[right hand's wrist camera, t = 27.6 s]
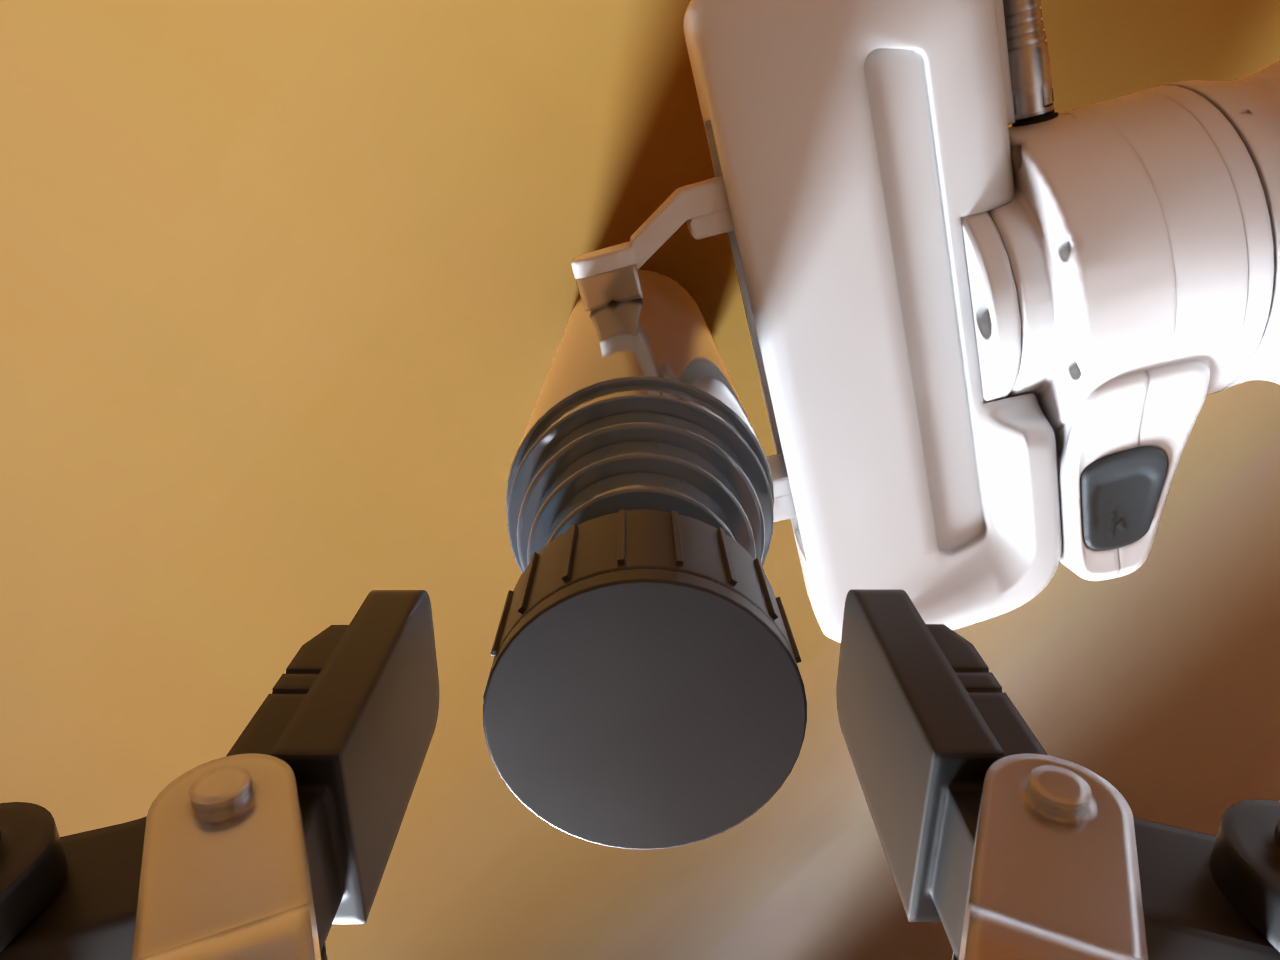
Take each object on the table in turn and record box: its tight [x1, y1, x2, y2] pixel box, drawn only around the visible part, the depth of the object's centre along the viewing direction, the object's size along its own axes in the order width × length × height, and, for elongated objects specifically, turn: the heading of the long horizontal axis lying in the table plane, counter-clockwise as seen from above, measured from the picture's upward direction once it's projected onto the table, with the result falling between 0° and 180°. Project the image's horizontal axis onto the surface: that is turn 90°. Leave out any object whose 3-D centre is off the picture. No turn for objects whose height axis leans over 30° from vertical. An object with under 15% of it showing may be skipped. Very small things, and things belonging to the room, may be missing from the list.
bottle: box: [506, 270, 774, 574], centre depth 21 cm, size 5×5×22 cm
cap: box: [483, 509, 807, 850], centre depth 11 cm, size 4×4×2 cm
